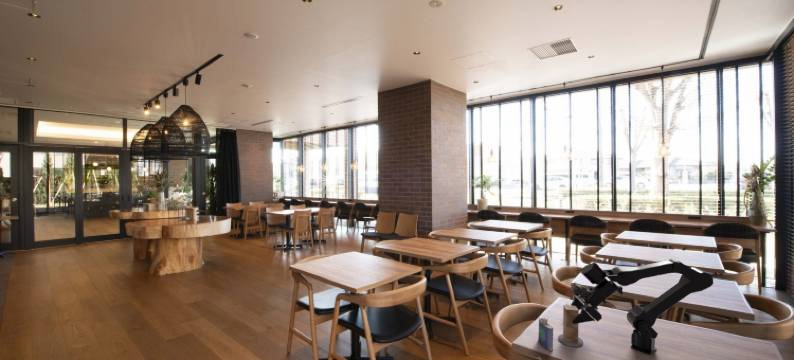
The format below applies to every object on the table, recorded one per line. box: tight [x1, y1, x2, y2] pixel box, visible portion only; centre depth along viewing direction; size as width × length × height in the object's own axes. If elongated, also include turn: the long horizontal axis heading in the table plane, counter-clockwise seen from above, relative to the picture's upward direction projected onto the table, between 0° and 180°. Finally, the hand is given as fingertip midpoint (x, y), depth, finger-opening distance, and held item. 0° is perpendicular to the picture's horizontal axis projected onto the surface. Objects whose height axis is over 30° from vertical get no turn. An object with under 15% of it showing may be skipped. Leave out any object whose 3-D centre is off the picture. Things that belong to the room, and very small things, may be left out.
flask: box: [538, 317, 554, 352], centre depth 136 cm, size 9×3×11 cm, turn 2°
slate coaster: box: [557, 333, 584, 348], centre depth 139 cm, size 9×9×1 cm
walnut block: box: [562, 304, 580, 343], centre depth 139 cm, size 4×4×13 cm
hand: (570, 317), depth 139 cm, fingers open, 9 cm apart
